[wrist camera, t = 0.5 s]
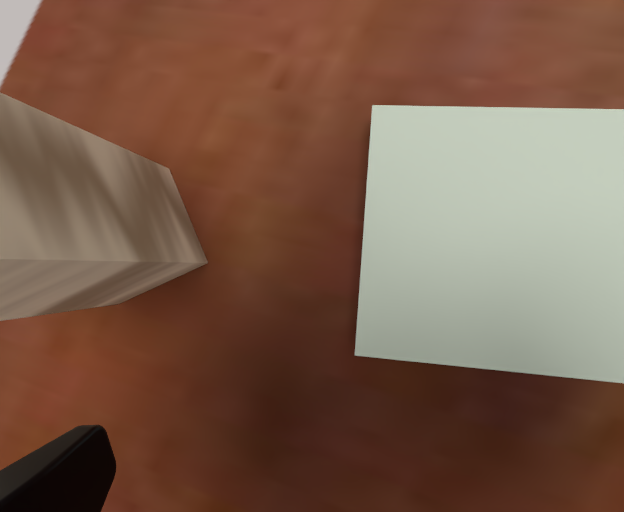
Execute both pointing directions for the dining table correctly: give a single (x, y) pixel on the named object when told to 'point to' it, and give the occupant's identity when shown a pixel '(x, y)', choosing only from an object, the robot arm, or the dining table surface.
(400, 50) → the dining table surface
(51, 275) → the birch pillar
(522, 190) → the sage block
